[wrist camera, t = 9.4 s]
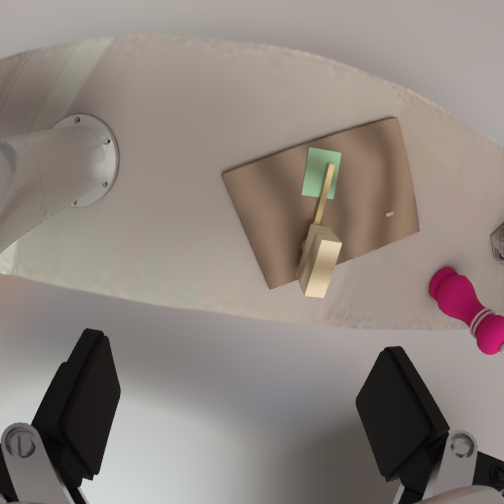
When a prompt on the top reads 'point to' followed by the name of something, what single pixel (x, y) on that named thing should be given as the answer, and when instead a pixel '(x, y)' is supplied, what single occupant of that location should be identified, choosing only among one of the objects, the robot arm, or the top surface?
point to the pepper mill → (468, 309)
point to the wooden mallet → (319, 250)
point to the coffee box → (498, 244)
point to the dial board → (338, 199)
